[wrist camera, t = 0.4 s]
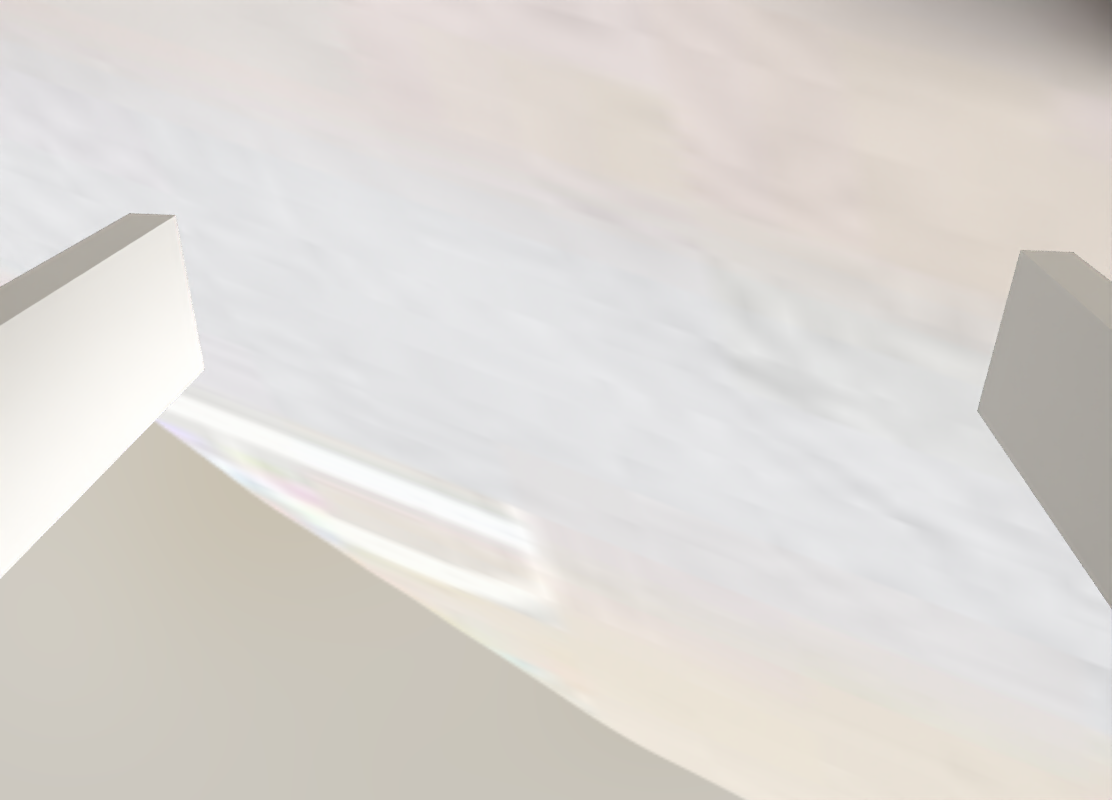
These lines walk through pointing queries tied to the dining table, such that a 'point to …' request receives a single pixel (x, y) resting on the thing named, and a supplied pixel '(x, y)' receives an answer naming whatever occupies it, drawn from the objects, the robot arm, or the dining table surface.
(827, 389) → the dining table surface
